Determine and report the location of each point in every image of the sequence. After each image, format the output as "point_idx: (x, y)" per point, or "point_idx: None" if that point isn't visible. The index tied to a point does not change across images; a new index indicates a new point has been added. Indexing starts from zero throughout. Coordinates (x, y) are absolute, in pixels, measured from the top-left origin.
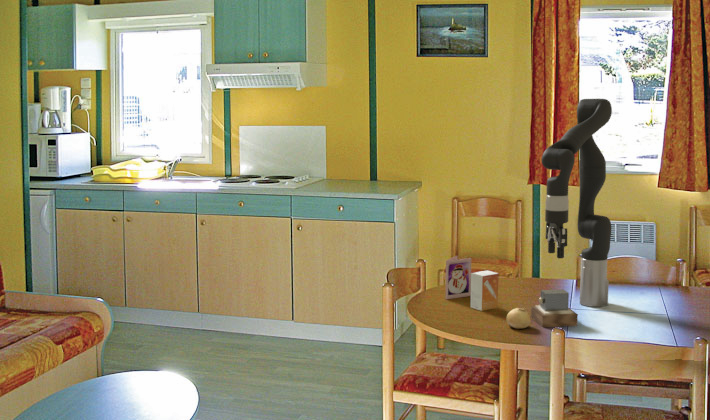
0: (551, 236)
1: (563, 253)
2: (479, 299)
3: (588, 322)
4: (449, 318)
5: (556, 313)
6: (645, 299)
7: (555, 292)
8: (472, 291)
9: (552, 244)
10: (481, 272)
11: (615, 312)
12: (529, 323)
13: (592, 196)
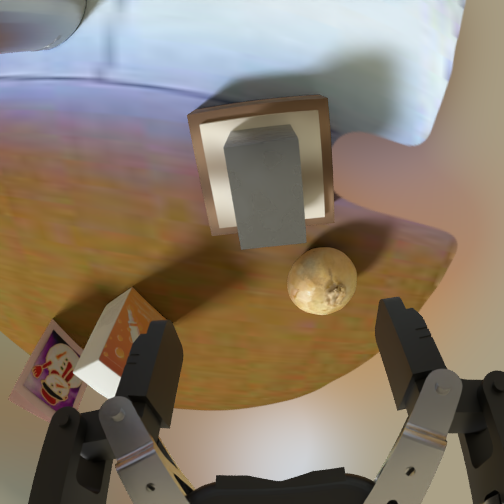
0: (190, 488)
1: (428, 330)
2: None
3: (277, 44)
4: (239, 377)
5: (322, 175)
6: None
7: (284, 197)
8: None
9: (160, 395)
10: (107, 391)
11: None
12: (343, 253)
13: None
